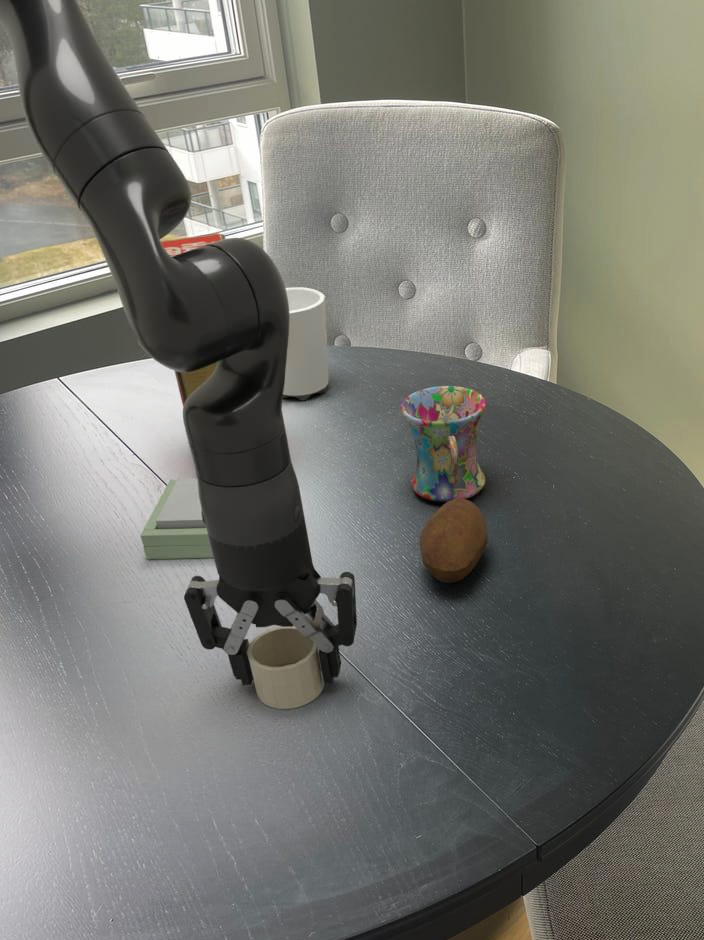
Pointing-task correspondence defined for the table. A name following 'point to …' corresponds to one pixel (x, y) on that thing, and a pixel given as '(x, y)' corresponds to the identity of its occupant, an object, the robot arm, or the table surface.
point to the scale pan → (182, 507)
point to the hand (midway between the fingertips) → (289, 678)
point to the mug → (445, 441)
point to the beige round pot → (285, 668)
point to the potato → (453, 540)
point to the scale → (173, 537)
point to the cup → (306, 344)
